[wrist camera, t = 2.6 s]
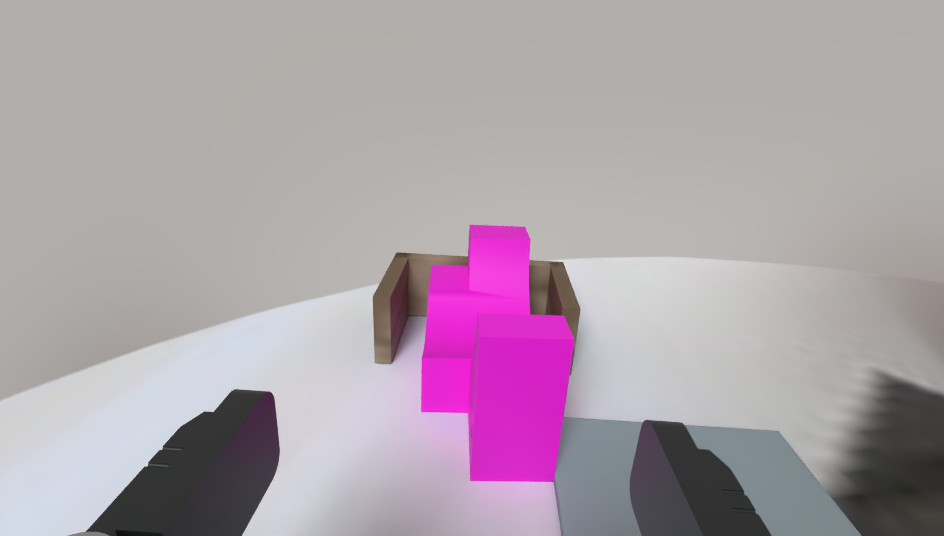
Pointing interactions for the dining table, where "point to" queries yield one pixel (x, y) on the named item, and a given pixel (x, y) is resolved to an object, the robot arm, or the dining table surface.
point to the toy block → (497, 358)
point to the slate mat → (743, 450)
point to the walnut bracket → (410, 289)
